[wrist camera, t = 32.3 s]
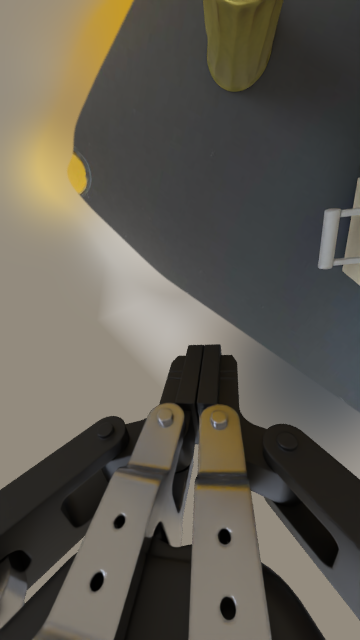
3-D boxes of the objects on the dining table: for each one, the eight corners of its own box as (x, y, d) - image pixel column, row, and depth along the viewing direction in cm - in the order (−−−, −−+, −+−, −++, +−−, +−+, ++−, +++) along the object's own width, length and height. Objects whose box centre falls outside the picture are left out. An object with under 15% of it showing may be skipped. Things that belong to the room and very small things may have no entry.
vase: (232, -16, 22) (237, -248, 10) (286, 31, 23) (352, -132, 11) (195, 68, 25) (164, -32, 13) (244, 106, 26) (258, 45, 14)
